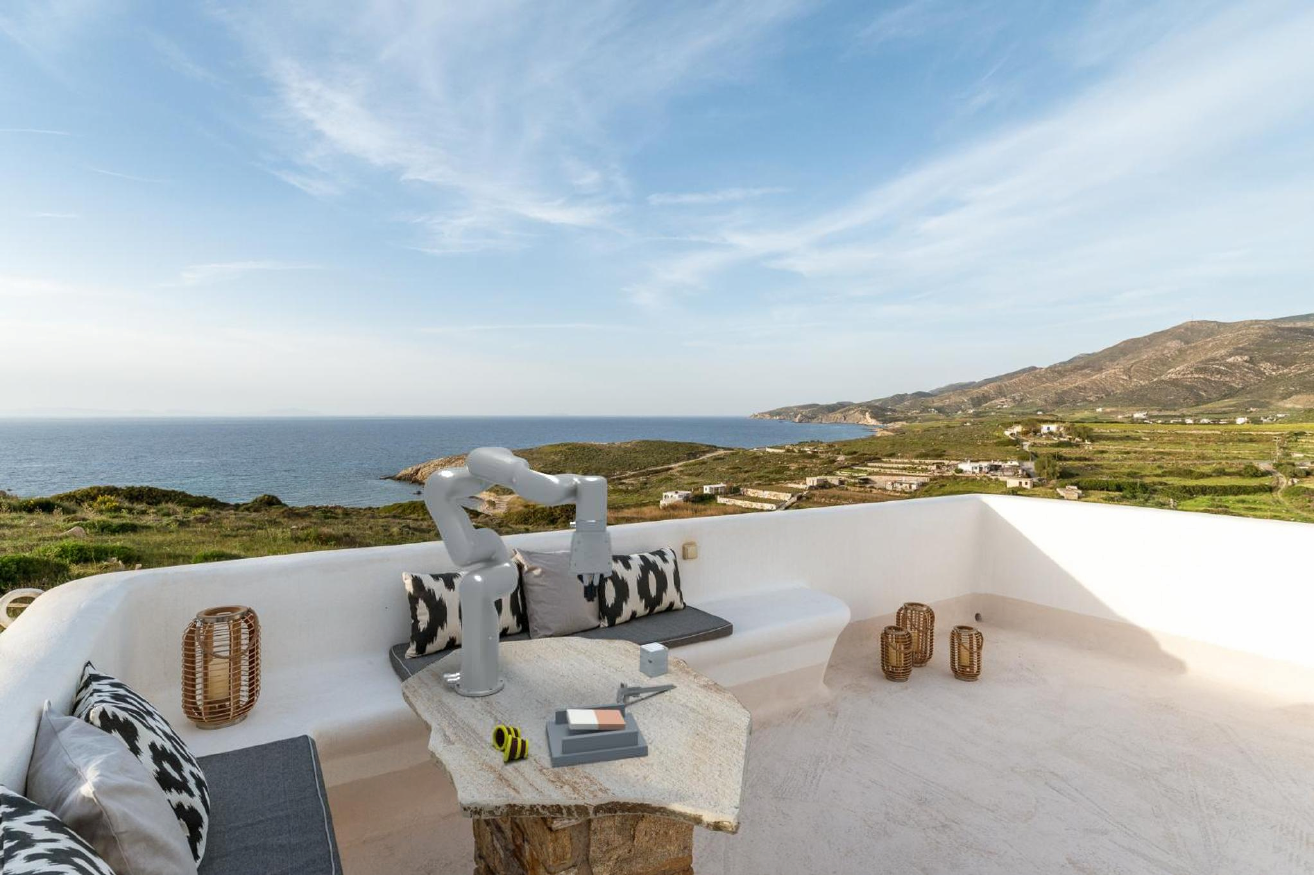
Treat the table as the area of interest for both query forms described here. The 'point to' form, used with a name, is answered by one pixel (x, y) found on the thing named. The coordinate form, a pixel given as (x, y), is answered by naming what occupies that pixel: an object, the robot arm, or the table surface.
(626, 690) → the caliper
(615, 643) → the table surface
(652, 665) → the skincare box
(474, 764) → the table surface
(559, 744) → the grey piece
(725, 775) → the table surface
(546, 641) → the table surface
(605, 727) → the two-tone peach white tile
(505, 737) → the opera glasses
